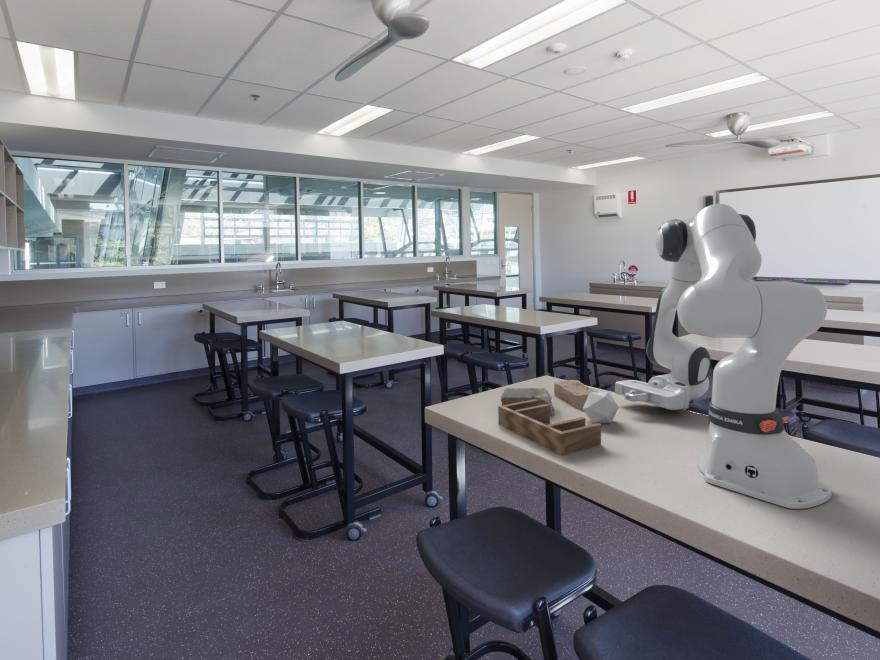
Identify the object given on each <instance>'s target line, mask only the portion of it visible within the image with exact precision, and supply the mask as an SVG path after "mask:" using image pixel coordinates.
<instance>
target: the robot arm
mask: <svg viewBox="0 0 880 660" xmlns="http://www.w3.org/2000/svg"><path fill="white" fill-rule="evenodd" d="M756 240H757V230H756V225H755V222H754V220H753V219H752V218H751V217H750V216H749V215H748V214H742V213H738V212H737V210H736V209H734V208H733V207H732V206H730V205H728V204H725V203H713V204H710V205H707V206H706V207H703V208H702V209H701V210H700V211H699V212H698V213H696V216H689V217H684V218H680V219H678V218H674V219H671V220H667V221H665V222H663V223H662V224H661V225H660V226H658V229H657V233H656V237H655V246H656V250H657V252H658V256H660V258H661V259H662V260H663V261H665V262H671V266H670V267H671V268H670V279H669V282H668V284H667V286H665V287H664V288H662V289H661V291H660V294H659V296H658V300H657V302H656V307H655V308H656V309H655V312H654V318H653V323H652V327H651V333H650V337H649V338H648V341H647V344H646V347H645V349H646V351H645V352H646V356H647V358H648V360H649V362H650V363H651V364H653V365H656V366H660V367H663V368H666V369H668V370H670V372H669V373H666V374H661V375H660V374H659V375H655V376H652V377H651V378H650V379H649V380H648V382H646V381H641V380H636V379H627V380H618V381H616V382H615V385H614V394H616V395H619V396H623V397H624V400H626V401H630V402H632V403H634V402H635V403H636V402H643V403H645V404H650V405H652V406H657V407H660V408H663V409H666V410H671V411H675V410H687V409H690V408H689V406H690V401H693V400H696V399H699V398H700V397H702V396H703V395H704V394H705V393H707V392H708V390H709V387H710V380H709V379H710V378H709V377H708V376H709V374H710V371H711V367H712V361H711V360H712V359H711V355H710V352H709V350H708V348H706V347H704V346H701V345H698V344H696V343H693V342H691V341H688V340H686V339H682V338H679V337H678V336H676V335H675V334H674V333H673V328H674V327H673V326H674V322H675V318H676V313H677V318H678V321H679V323H680V325H681V326H682V327H683V329H684V331H686V332H687V333H688V334H691V335H697V336H702V337H707V338H714V339H716V338H717V339H719V338H721V339H722V338H723V339H725V338H726V339H732V338H734V339H735V338H736V339H739V338H740V339H744V342H743V344H742V345H741V347H740V348H739V349H737V350H736V351H735V352H733V353H731V354H730V355H727V356H724V357H723V358H722V359H720V360H719V361H718V362H717V363H716V364H715V366H714V369H713V370H712V371H713V373H712V374H713V375H712V393H711V401H709V405H708V414H707V415H708V417H707V418H708V419H707V420H708V425H709V426H708V432H707V438H706V444H705V447H704V451H703V454H702V457H701V460H700V462H699V463H698V464H699V465H698V467H699V468H698V469H700V471H701V473H702V474H704V480H705V482H706V483H708V484H711V485H715V486H718V487H721V488H725V489H726V490H729V491H733V492H737V493H740V494H742V495H746V496H748V497H753V498H756V499H759V500H761V501H765V502H768V503H771V504H774V505H777V506H780V507H784V508H787V509H792V510H793V509H794V510H797V509H798V510H800V509H801V510H802V509H808V508H813V507H816V506H819V505H822V504H824V503H826V502H828V501H829V500H830V499H831V498H832V496H833V488H832V487H831V486H830V485H828V484H827V483H824V482H822V481H820V480H819V474H818V472H819V471H818V465H817V462H816V460H815V458H814V457H813V455H811V454H810V453H809V452H808V451H806V450H805V449H804V448H803V446H801V445H800V444H799V443H797V441H796V440H794V439H793V438H792V437H791V436H790V435H789V434H788V433H787V432H786V431H785V430H784V429H785V428H784V424H785V423H789V422H790V420H789V419H790V415H788V416H784V417H782V415H781V414H780V413H779V411H778V409H777V407H776V405H777V394H778V387H779V382H780V381H779V380H780V375H781V373H782V369H783V366H784V364H785V362H786V360H787V359H788V357H789V356H790V355H791V353H792V352H793V350H794V349H795V348H796V347H797V346H798V345H799V344H800V343H801V342H802V341H804V340H805V339H806V338H808V337H809V336H811V335H812V334H814V333H816V332H817V331H818V330H819V329H820V328H821V327H822V325H823V323H824V322H825V320H826V317H827V313H828V304H827V301H826V298H825V296H824V294H823V293H822V291H821V290H820V289H819V288H818V287H816V286H815V285H812V284H807V283H802V282H796V281H789V280H773V281H772V280H769V281H768V280H765V281H764V280H763V281H756V280H755V281H752V279H754V278H755V277H756V275H757V274H758V272H759V271H760V269H761V267H762V262H763V261H762V254H761V253H760V250H759V247H758V246H757V243H756Z"/></svg>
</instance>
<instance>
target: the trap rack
mask: <svg viewBox="0 0 880 660" xmlns="http://www.w3.org/2000/svg"><path fill="white" fill-rule="evenodd" d="M497 411H498V413H497V414H498V423H497V424H498V425H499V426H502V427H504V428H505V429H507V430H509V431H511V432H513V433H516V434H517V435H520V437H521V436H522V437H523V438H526V439H528V440H529V441H532V442H533V443H535V444H538V445H540V446H541V447H544V448H546V449H548V450H549V451H552V452H554V453H555V454H558V455H560V456H563V455H567V454H572V453H576V452H578V451H583V450H585V449H590V448H594V447H598V446H601V445H602V423H594V424H587V425H586V420H587V419H586V418H585V417H577V418H571V419H568V420H564V421H559V422H555V423H551V415H550V405H549V404H544V405H539V406H538V400H536V399H533V400H528V401H523V402H518V403H513V404H507V405H502V404H501V405H498V410H497Z"/></svg>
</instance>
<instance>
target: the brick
mask: <svg viewBox="0 0 880 660" xmlns="http://www.w3.org/2000/svg"><path fill="white" fill-rule="evenodd" d="M594 392H598V391H597V390H595V389H592V388H590V387H588V386H587V385H585V384H584V383H582V382H581V381H579V380H577V379H570V380H569V379H568V380H563V381H557V382H556V381H555V382H554V383H553V394H554V395H555V397H557V398H558V399H560V400H562V401H564V402H565V403H567V404H568V405H571V406H572V407H574V408H576V409H579V410H583V407H584V404H585V402H586V400H587V398H588V395H589V393H594Z"/></svg>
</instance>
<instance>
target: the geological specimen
mask: <svg viewBox="0 0 880 660" xmlns="http://www.w3.org/2000/svg"><path fill="white" fill-rule="evenodd" d="M533 399H536V400H538V406H539V405H544V404H549V405H550V416H553V415H554V413H555V412H554V405H553V402H552V399H553V397H552V396H551V395H550V392H549V391H548V389H546V388H545V387H544V388H542V387H538V388H537V387H533V388H532V387H530V388H529V387H528V388H527V387H524V388H523V387H522V388H521V387H518V388H517V387H515V388H514V387H512V388H511V387H510V388H508V387H507V388H505V389H503V393H502V394H501V396H500V402H501V406H502V405H507V404H513V403H518V402H523V401H528V400H533Z"/></svg>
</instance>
